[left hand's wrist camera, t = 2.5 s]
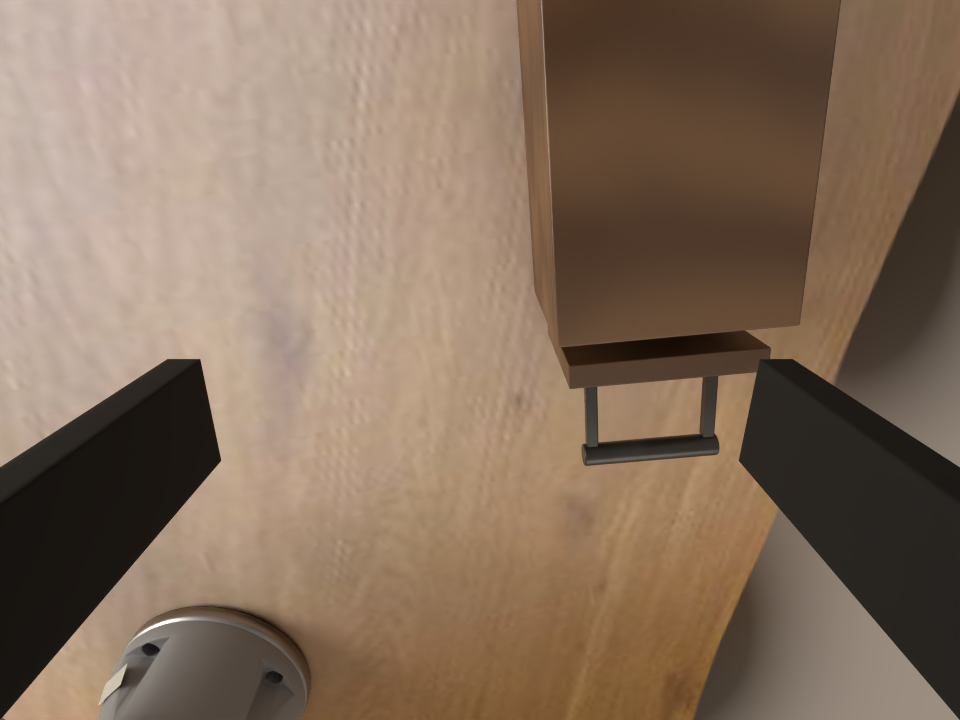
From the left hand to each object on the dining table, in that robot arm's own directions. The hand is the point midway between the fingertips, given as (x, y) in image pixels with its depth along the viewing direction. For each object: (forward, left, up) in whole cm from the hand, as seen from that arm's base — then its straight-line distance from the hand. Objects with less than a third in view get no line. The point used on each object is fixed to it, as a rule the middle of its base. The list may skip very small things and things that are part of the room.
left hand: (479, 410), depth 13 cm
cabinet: (+11, -4, -20) cm, 24 cm away
